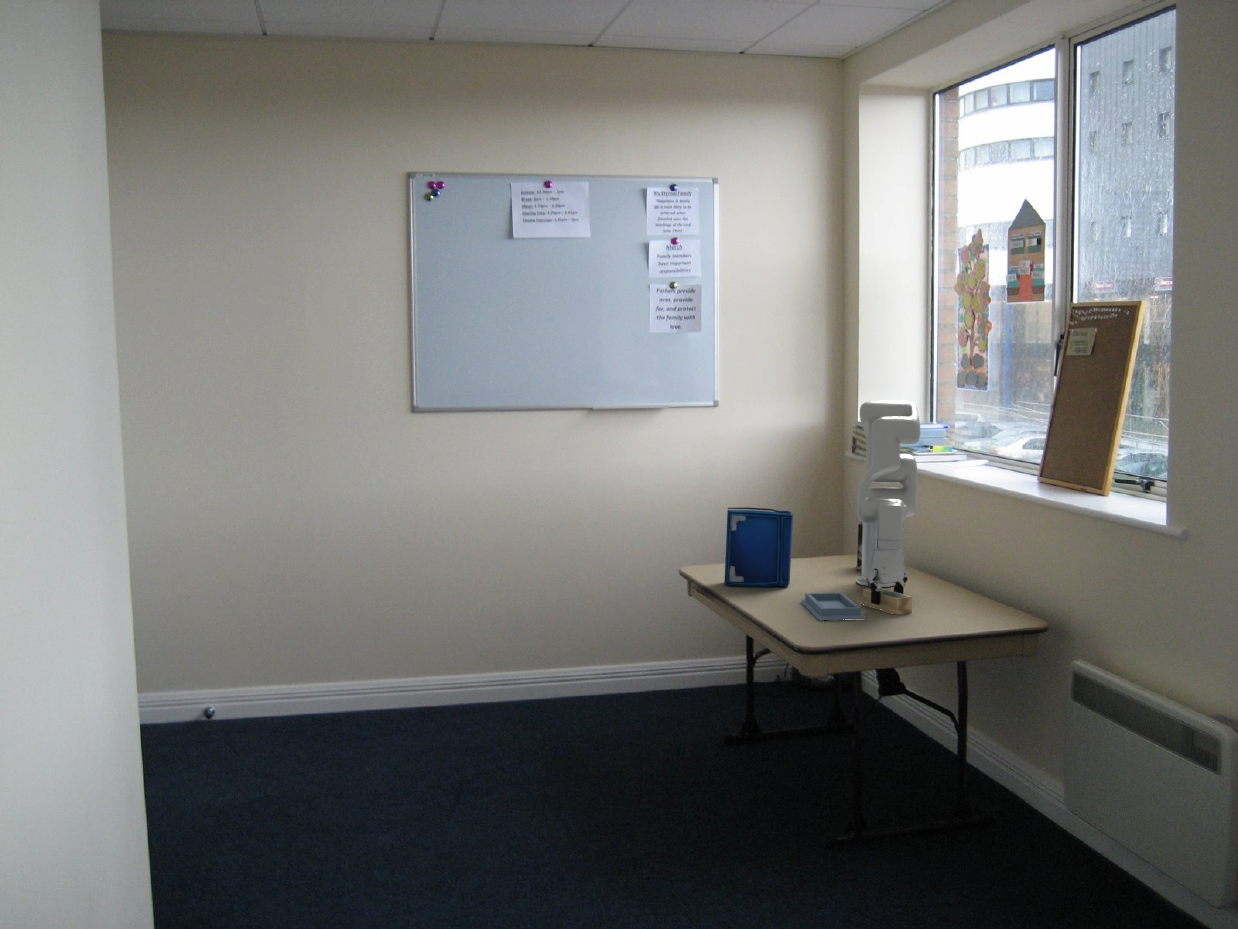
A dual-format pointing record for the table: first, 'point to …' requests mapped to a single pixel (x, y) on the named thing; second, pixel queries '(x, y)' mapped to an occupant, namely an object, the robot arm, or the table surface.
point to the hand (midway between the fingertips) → (887, 601)
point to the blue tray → (832, 606)
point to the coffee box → (859, 546)
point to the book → (758, 547)
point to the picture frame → (890, 601)
